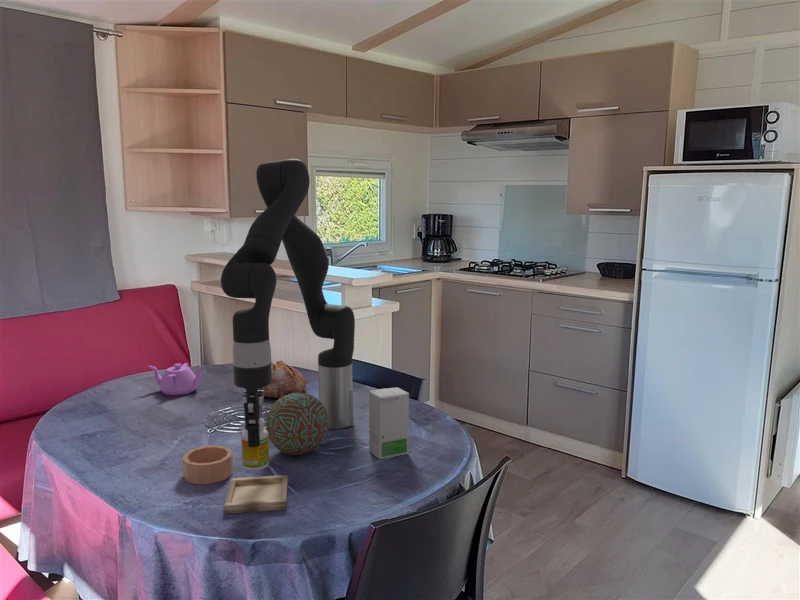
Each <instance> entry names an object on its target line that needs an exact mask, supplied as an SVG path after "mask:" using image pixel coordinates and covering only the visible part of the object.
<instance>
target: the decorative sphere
mask: <svg viewBox="0 0 800 600" xmlns="http://www.w3.org/2000/svg"><path fill="white" fill-rule="evenodd" d="M265 422H266V424H265V427H266V428H265V429H266V430H267V431H268V440H269V441H270V442H271V444H273V446H274V447H275V448H276V449H277V450H279V451H281V452H282V453H285V454H287V455H291V456H302V455H306V454H309V453H311V452H312V451H314V450H316V449H317V448H318V447H319V446H320V445H321V444H322V443H323V442H324V441H325V439H326V436H327V434H328V431H329V429H328V424H329V420H328V415H327V412H326V409H325V407H324V406H323V404H322V403H321V402H320V401H319V398H316V397H315V396H314V395H312V394H309V393H306V392H301V393H297V392H296V393H290V394H287V395H286V396H283V397H281V398H277V400H276V401H275V402H274V403H273V405H272V406H271V408H270V410H269V411H268V414H267V416H266V421H265Z"/></svg>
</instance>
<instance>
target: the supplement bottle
mask: <svg viewBox="0 0 800 600" xmlns="http://www.w3.org/2000/svg"><path fill="white" fill-rule="evenodd" d="M259 422H260V427H259V436H260V445H259V446H258V447H249V446H248V430H246V428H245V421H244V422H243V423H244V430H243V431H242V433H241V455H242V457H241V458H242V467H243V469H246V470H249V471H259V470H263V469H265V468H268V466H269V465H270V447H269V446H270V443H269V441H270V440H269V436H268V431H267V429H266V428H265V419H264V418H262V417H260V419H259ZM251 423H255V420H250V424H251Z"/></svg>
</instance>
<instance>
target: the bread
mask: <svg viewBox="0 0 800 600" xmlns="http://www.w3.org/2000/svg"><path fill="white" fill-rule="evenodd" d="M271 368H272V382H271V383H270V384H269V385H267V386H265V387H262V390H264V398H266V399H267V398H268V399H269V398H270V399H272V398H273V399H280V398H281V397H283V396H286V395H287V394H290V393H296V392H297V393H304V391H305V390H306V386H307V381H306V379H305V377H304V375H303V373H302V372H300V371H299V370H297V369H296V368H294V367H292V366H291V365H289V364H287V363H286V362H285V361H283V360H280V361H276V363H273V362H272V361H271Z"/></svg>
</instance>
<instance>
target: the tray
mask: <svg viewBox="0 0 800 600" xmlns="http://www.w3.org/2000/svg"><path fill="white" fill-rule="evenodd" d="M288 486H289V474H281V475H267V476H266V475H265V476H250V477H247V476H246V477H236V478H235V477H233V478H231V480H230V483H229V487H228V492H227V494H226V499H225V503H224V514H225V515H226V514H227V515H228V514H242V513H243V514H245V513H258V512H271V511H285V510H287V501H288Z"/></svg>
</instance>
